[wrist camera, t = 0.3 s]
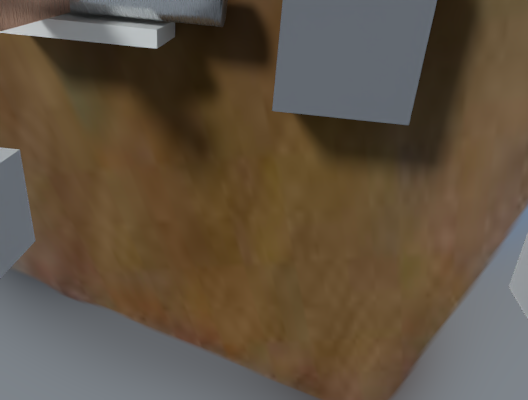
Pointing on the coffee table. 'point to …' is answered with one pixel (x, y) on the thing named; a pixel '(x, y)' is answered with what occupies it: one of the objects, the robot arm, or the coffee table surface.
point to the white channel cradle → (101, 29)
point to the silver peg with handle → (115, 10)
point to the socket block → (352, 58)
